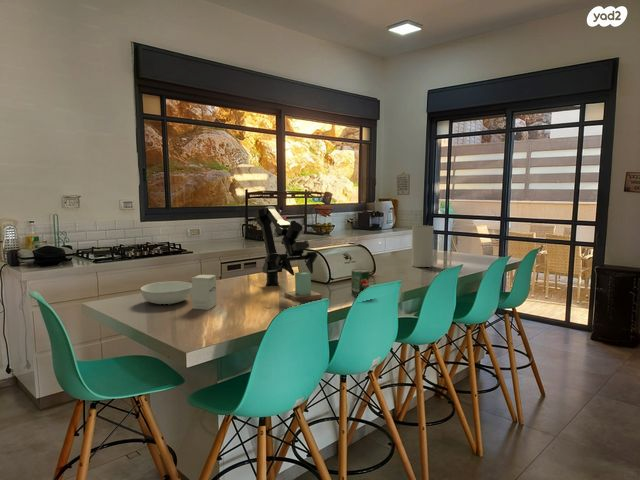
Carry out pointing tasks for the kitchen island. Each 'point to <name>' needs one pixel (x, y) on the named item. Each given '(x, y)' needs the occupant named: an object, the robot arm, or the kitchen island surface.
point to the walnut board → (302, 296)
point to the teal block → (303, 283)
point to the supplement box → (204, 292)
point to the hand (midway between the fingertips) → (303, 273)
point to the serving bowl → (167, 292)
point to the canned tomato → (359, 280)
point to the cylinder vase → (422, 246)
